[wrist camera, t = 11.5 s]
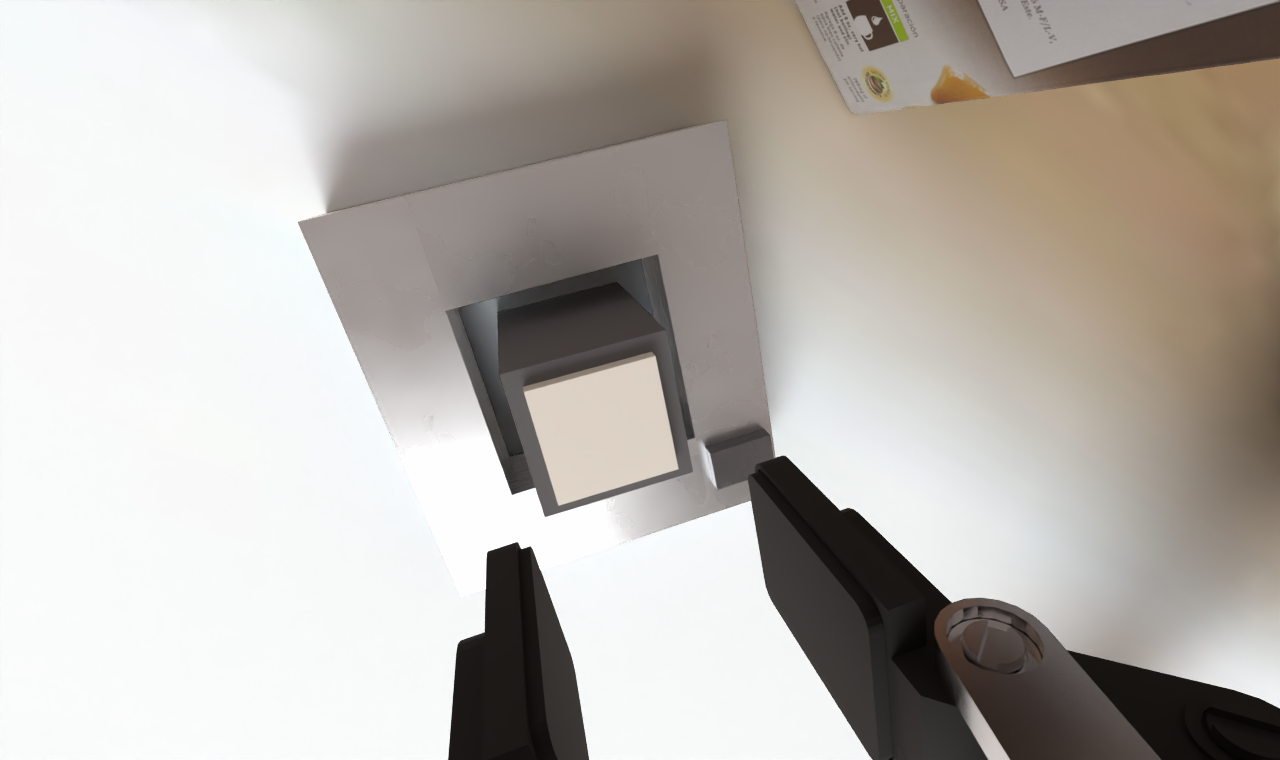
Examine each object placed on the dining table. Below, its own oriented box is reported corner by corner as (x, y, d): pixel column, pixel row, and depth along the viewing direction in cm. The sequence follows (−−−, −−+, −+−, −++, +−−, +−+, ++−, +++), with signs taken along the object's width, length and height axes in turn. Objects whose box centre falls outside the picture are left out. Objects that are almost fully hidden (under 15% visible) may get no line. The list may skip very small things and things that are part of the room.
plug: (616, 281, 22) (669, 333, 16) (640, 389, 24) (697, 478, 17) (497, 312, 22) (499, 380, 15) (530, 420, 24) (545, 525, 17)
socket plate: (696, 125, 21) (733, 118, 18) (750, 456, 26) (786, 498, 23) (325, 213, 19) (290, 224, 16) (464, 548, 25) (459, 607, 21)
